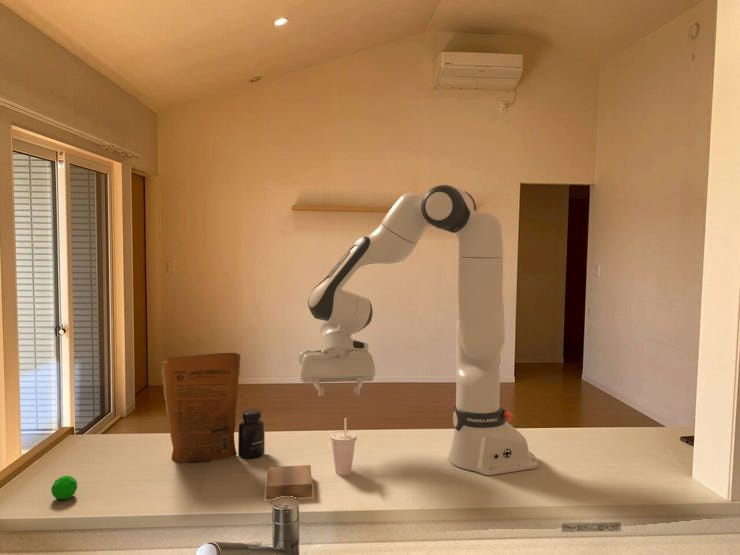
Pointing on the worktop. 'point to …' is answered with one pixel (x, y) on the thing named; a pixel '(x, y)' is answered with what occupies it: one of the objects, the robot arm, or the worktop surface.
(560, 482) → the worktop surface
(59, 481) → the polyhedron
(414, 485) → the worktop surface
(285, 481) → the base block
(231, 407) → the pancake mix bag
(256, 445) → the supplement bottle
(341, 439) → the smoothie
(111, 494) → the worktop surface
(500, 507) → the worktop surface
